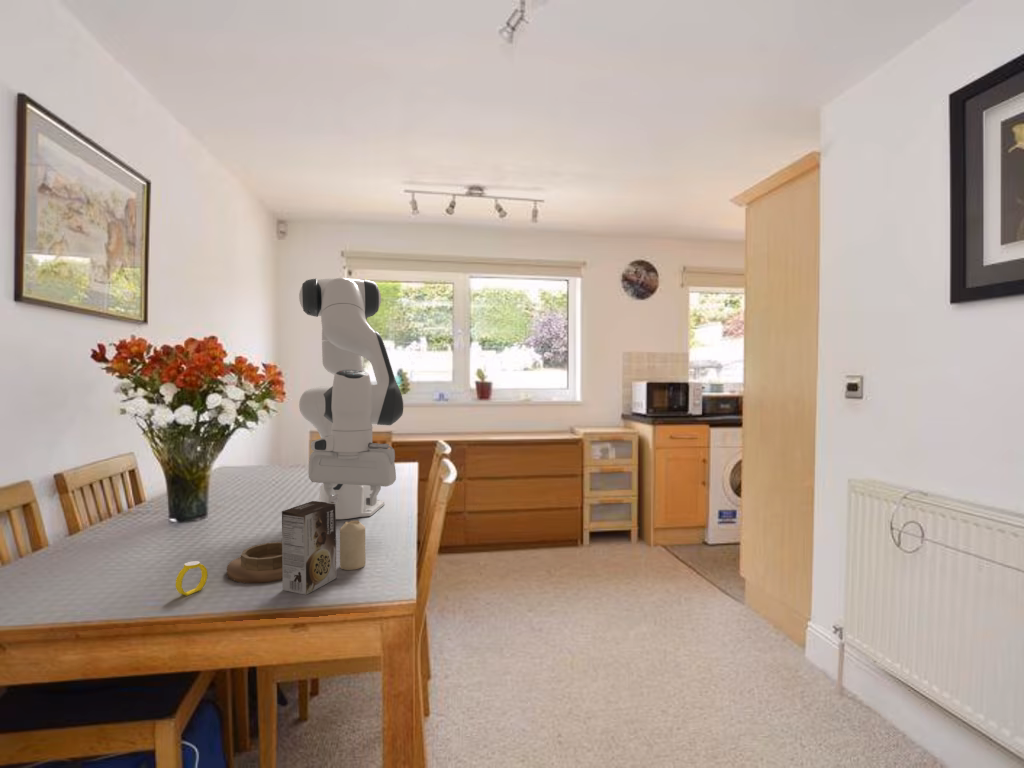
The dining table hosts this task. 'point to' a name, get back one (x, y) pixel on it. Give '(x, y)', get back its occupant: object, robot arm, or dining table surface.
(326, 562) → the coffee box
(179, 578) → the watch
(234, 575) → the candle plate
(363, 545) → the candle
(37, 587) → the dining table surface
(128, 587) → the dining table surface
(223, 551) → the dining table surface
